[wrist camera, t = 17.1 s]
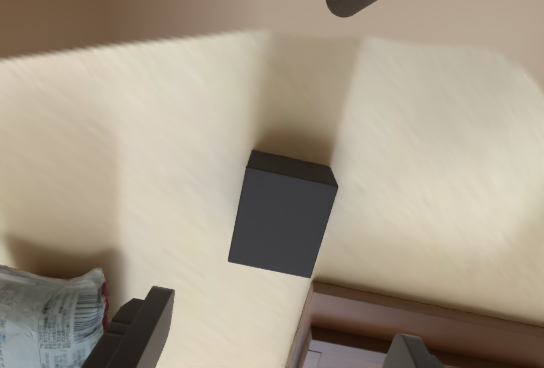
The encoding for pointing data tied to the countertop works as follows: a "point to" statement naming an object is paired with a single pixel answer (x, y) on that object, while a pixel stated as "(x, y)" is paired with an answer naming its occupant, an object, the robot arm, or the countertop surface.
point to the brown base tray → (407, 320)
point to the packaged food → (50, 318)
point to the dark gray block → (282, 214)
